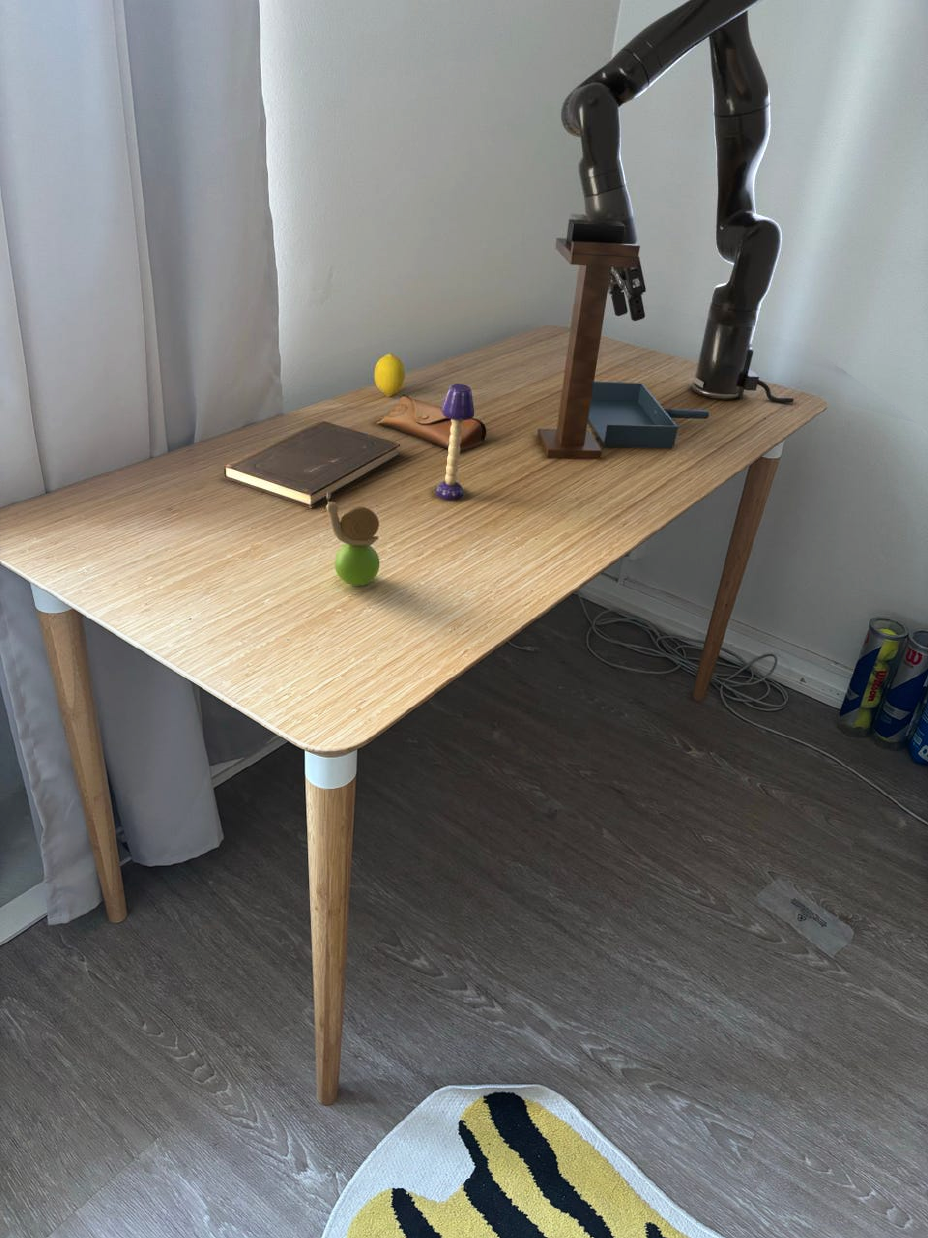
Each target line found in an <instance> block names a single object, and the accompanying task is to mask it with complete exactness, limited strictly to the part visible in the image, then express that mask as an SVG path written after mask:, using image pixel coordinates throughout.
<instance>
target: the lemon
mask: <svg viewBox="0 0 928 1238" xmlns="http://www.w3.org/2000/svg"><path fill="white" fill-rule="evenodd" d="M405 381H406V371H405V365H404V363H403V361H402V360H401V359H400V358H399V357H398V356H396V355H394V354H393V353H390V352H389V353H388V354H386V355H384V356H382V357H381V358H379V359H378V361H377V363H376V365H375V369H374V382H375V385H376V387H377V389H378V390H379V391H380V392H382V393H383V394H385V395H386V397H390V398H391V397H392V396H393V395H394V394H397V393H399V392H400V391H401V390H402V389H403V387H404V384H405Z"/></svg>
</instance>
